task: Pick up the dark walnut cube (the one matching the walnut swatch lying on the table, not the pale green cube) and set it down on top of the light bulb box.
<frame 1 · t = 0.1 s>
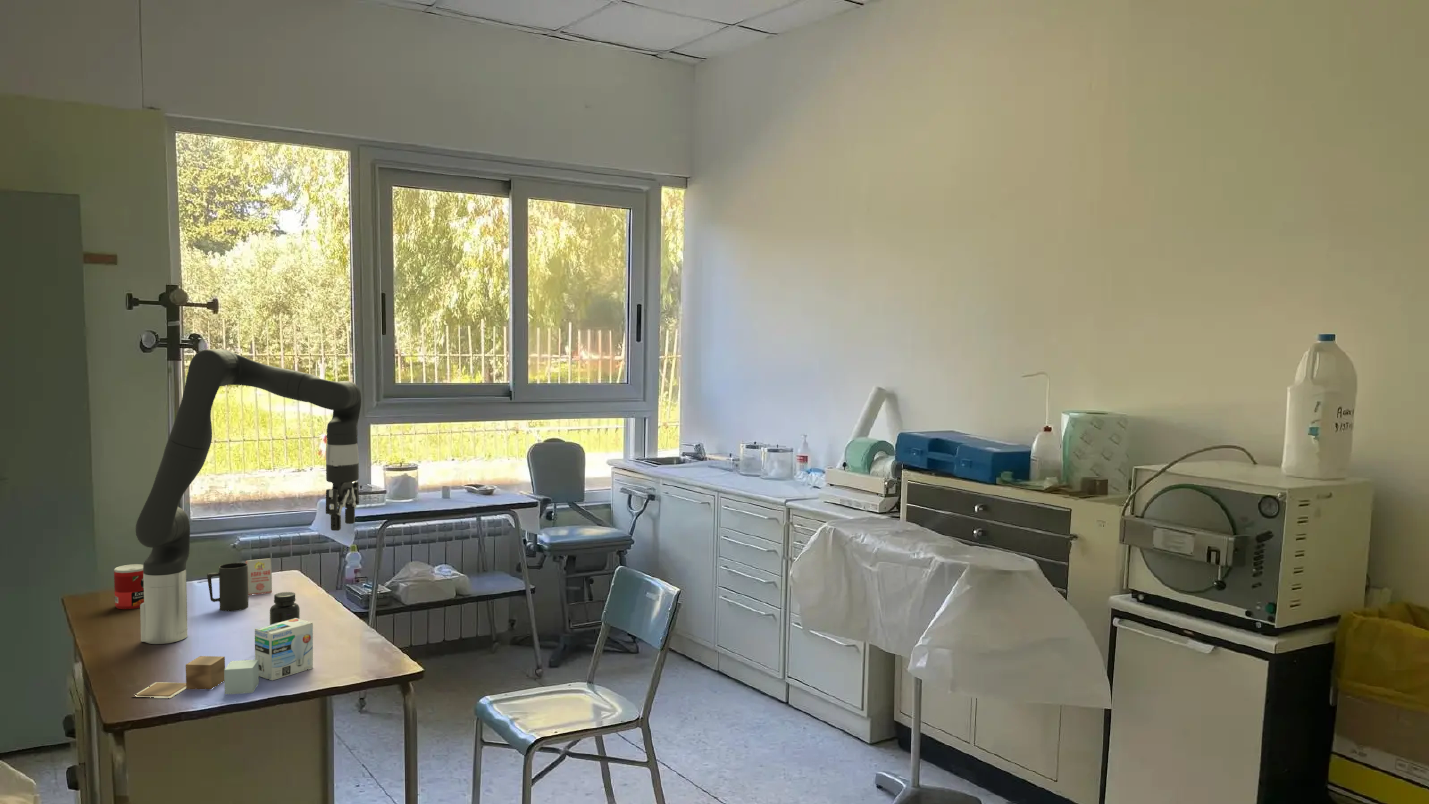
hand: (343, 526, 232), 29 cm above the table, tool pointing down, fingers open, 8 cm apart
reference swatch: (163, 690, 200), on the table
beige rectangular box: (258, 593, 278), on the table
canned food: (131, 606, 263), on the table
pale green cube: (242, 689, 202), on the table
mug: (228, 609, 262), on the table
light bulb box: (284, 672, 213), on the table
walnut block: (205, 685, 204), on the table
supplement bottle: (284, 642, 234), on the table
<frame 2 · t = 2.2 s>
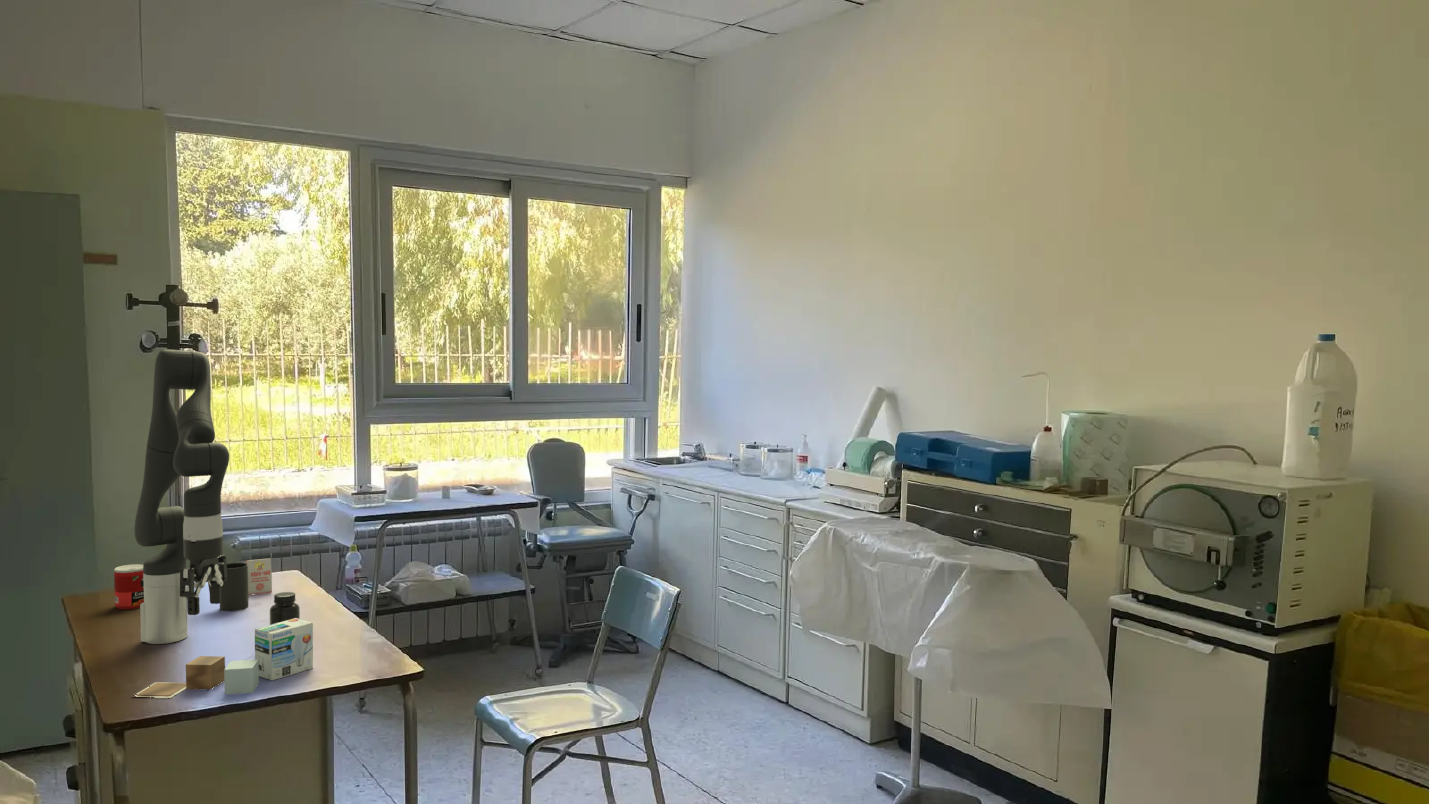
hand: (204, 608, 203), 17 cm above the table, tool pointing down, fingers open, 8 cm apart
nothing on the table moved.
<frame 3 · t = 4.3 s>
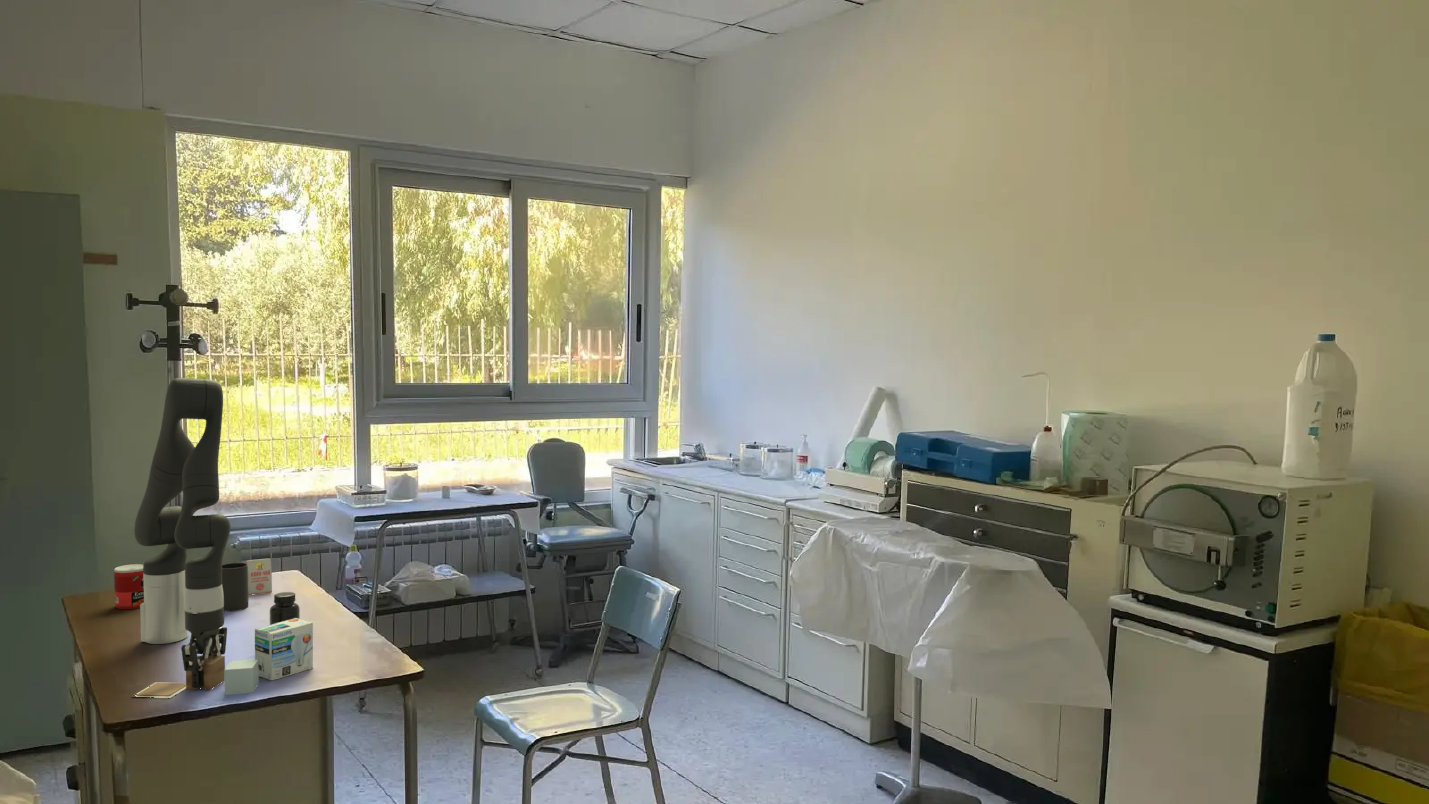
hand: (205, 682, 204), 1 cm above the table, tool pointing down, fingers closed on walnut block, 5 cm apart
walnut block: (205, 684, 204), on the table, touching gripper
everything else where it was.
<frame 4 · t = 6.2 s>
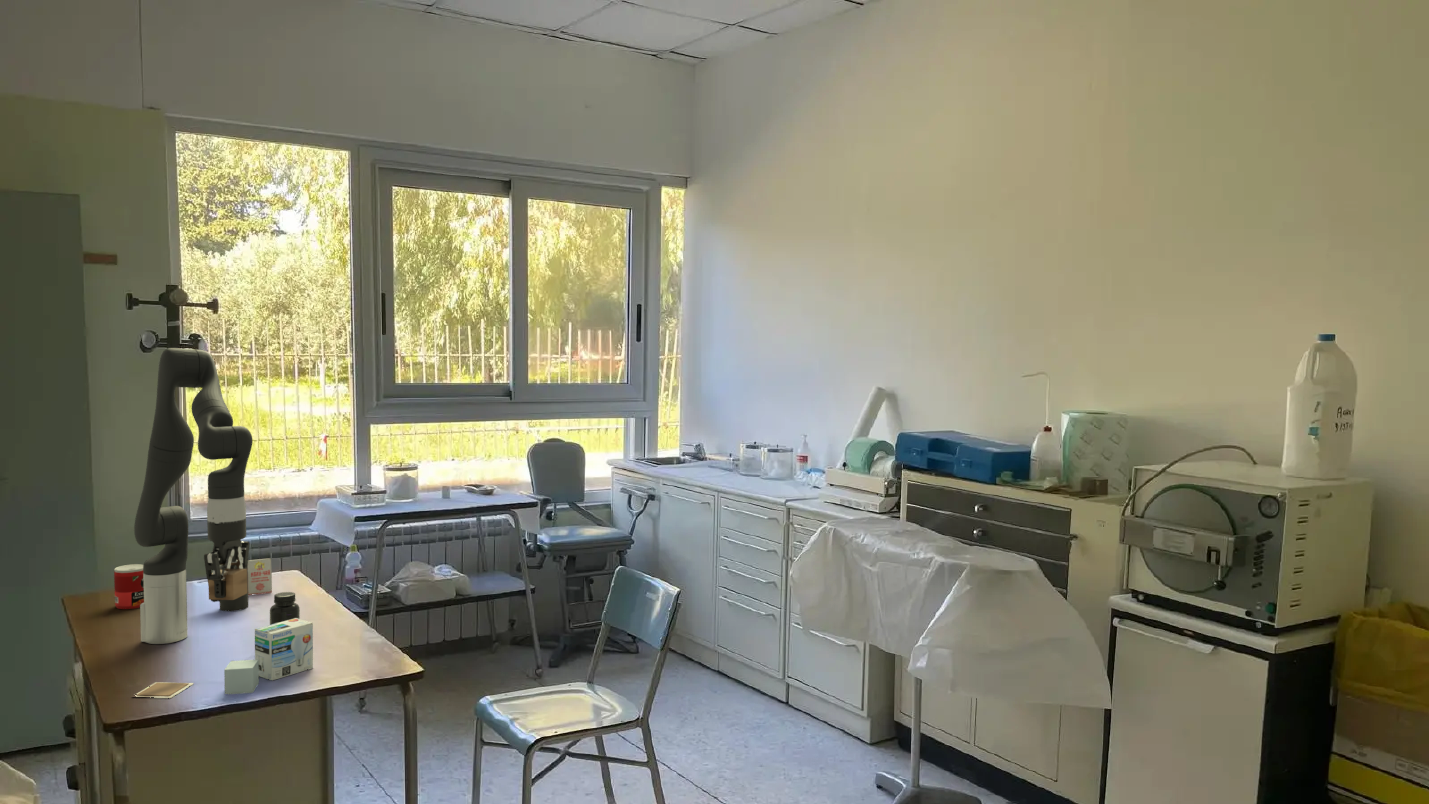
hand: (228, 593, 205), 20 cm above the table, tool pointing down, fingers closed on walnut block, 5 cm apart
walnut block: (228, 596, 205), point 19 cm above the table, touching gripper
everything else where it was.
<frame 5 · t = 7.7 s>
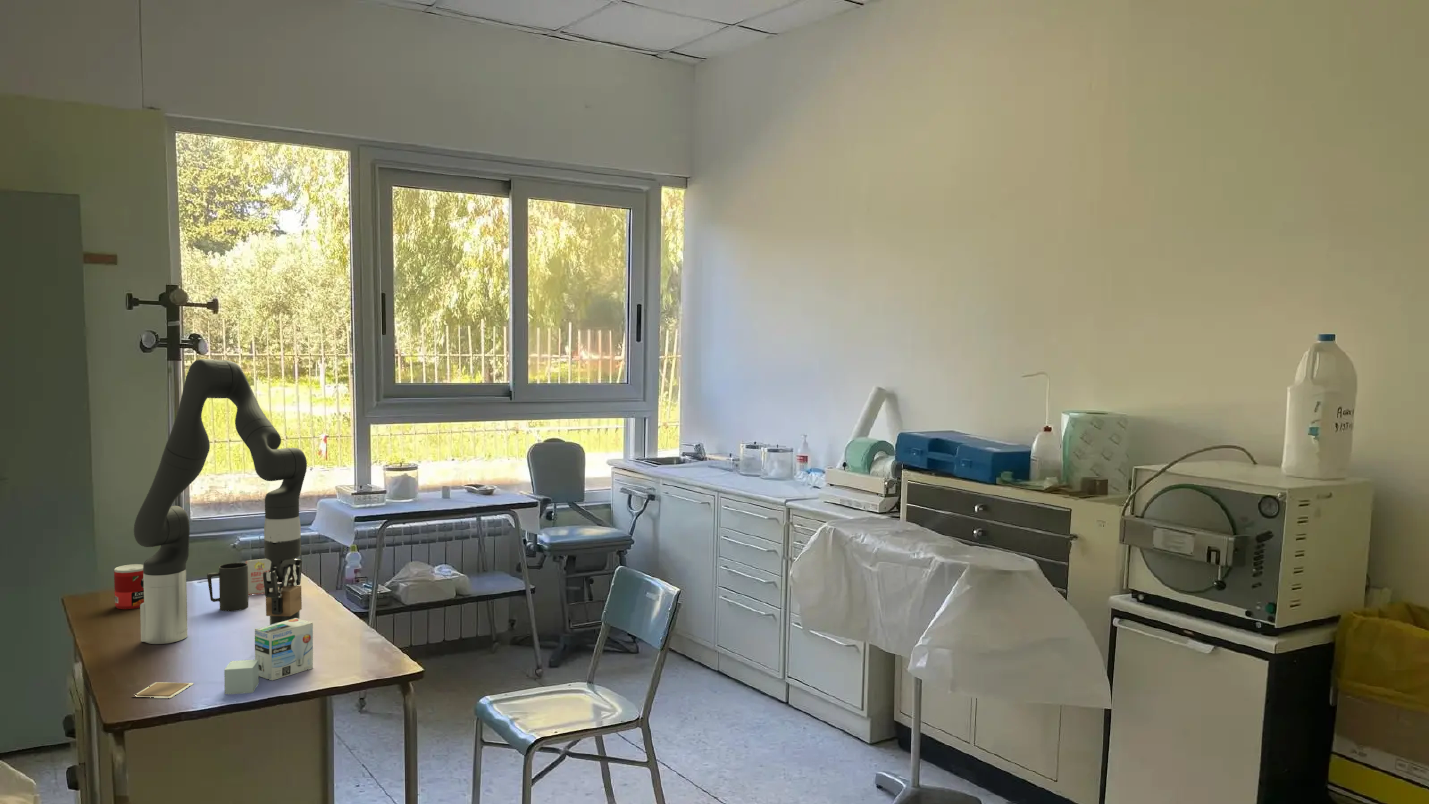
hand: (283, 610, 212), 14 cm above the table, tool pointing down, fingers closed on walnut block, 5 cm apart
walnut block: (284, 612, 212), point 14 cm above the table, touching gripper
everything else where it was.
when the fingers open (12 cm above the table, at t = 8.5 s): walnut block drops 1 cm, resting on light bulb box.
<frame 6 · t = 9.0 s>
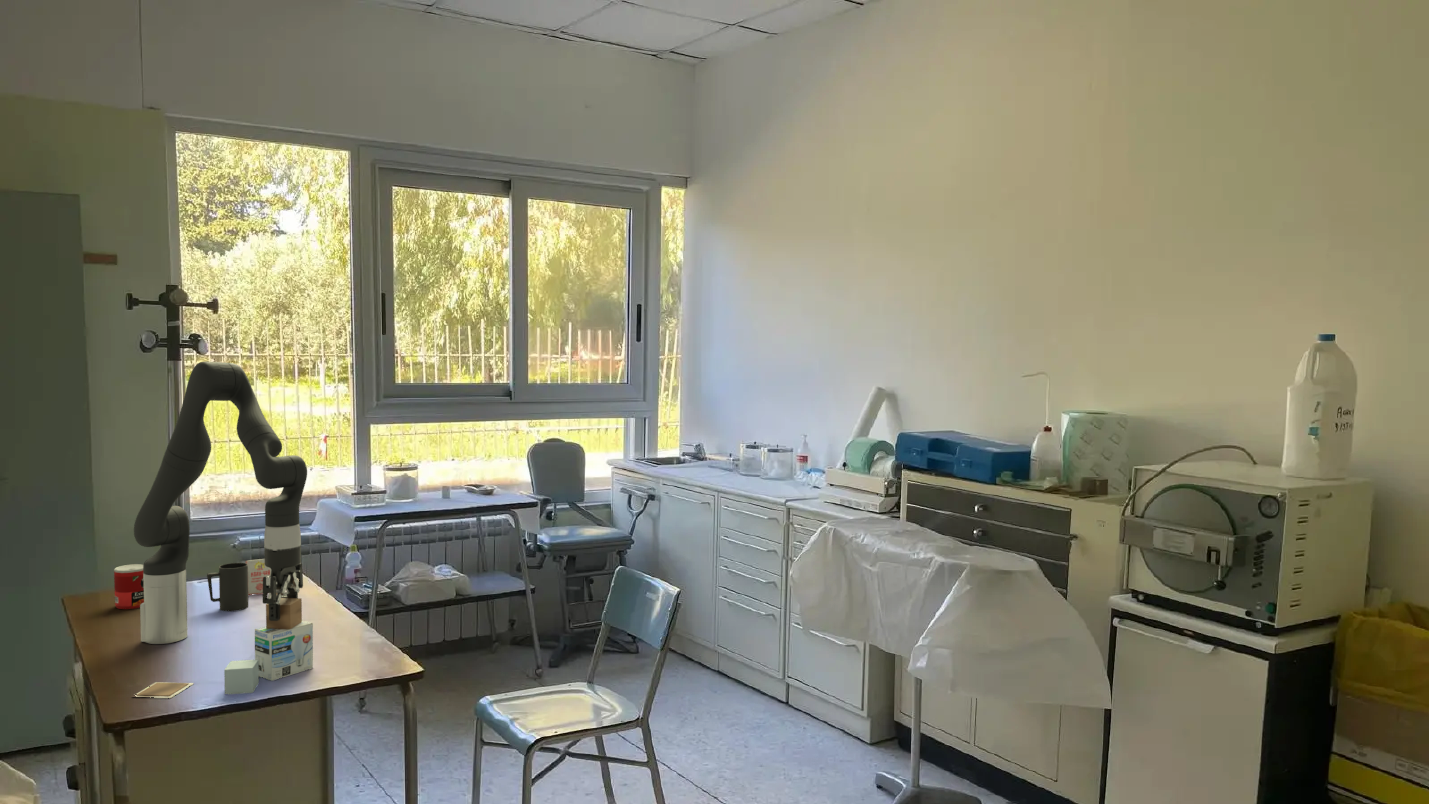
hand: (283, 614, 212), 13 cm above the table, tool pointing down, fingers open, 8 cm apart
light bulb box: (284, 672, 213), on the table, touching walnut block
walnut block: (284, 625, 212), point 11 cm above the table, touching light bulb box
everything else where it was.
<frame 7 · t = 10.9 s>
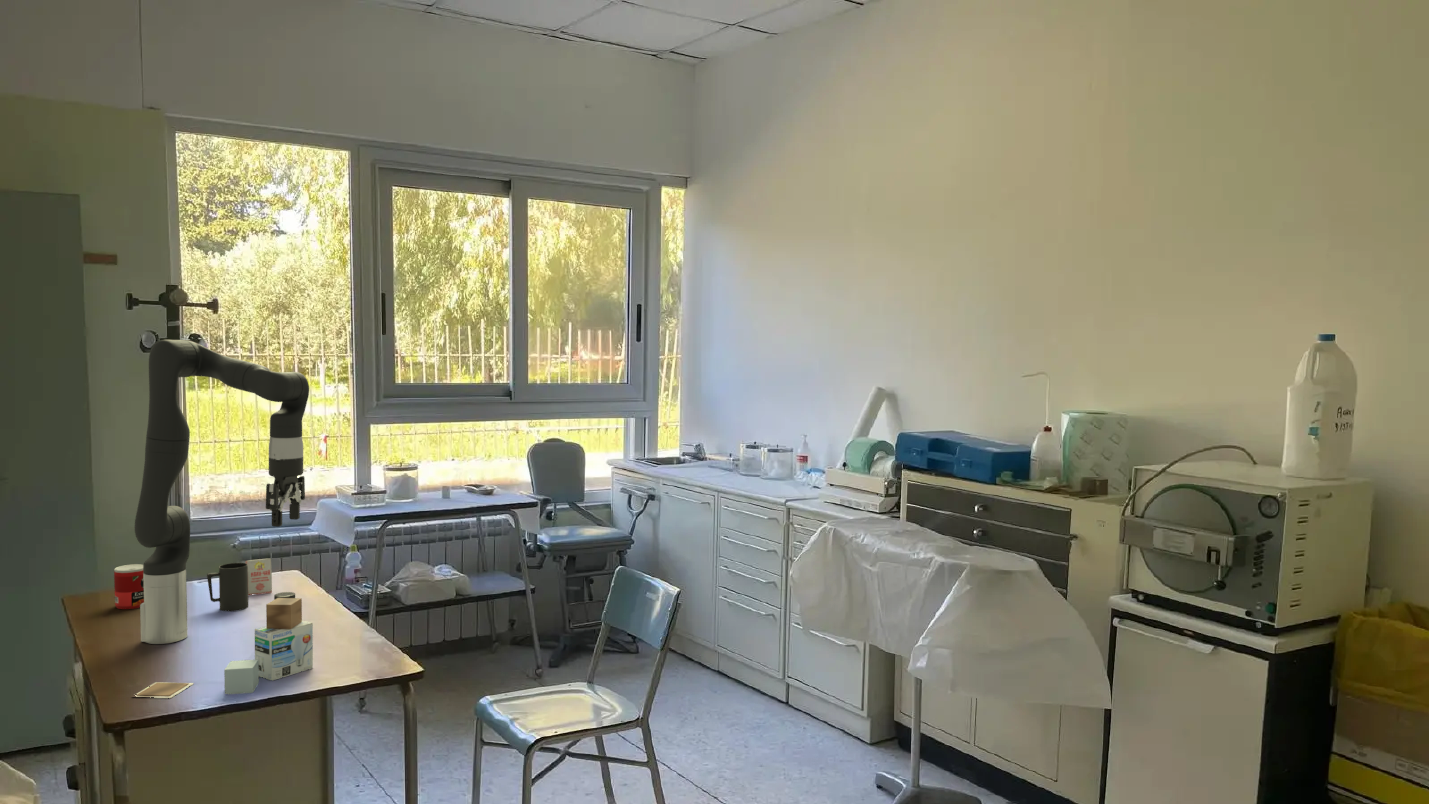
hand: (285, 522, 224), 32 cm above the table, tool pointing down, fingers open, 8 cm apart
nothing on the table moved.
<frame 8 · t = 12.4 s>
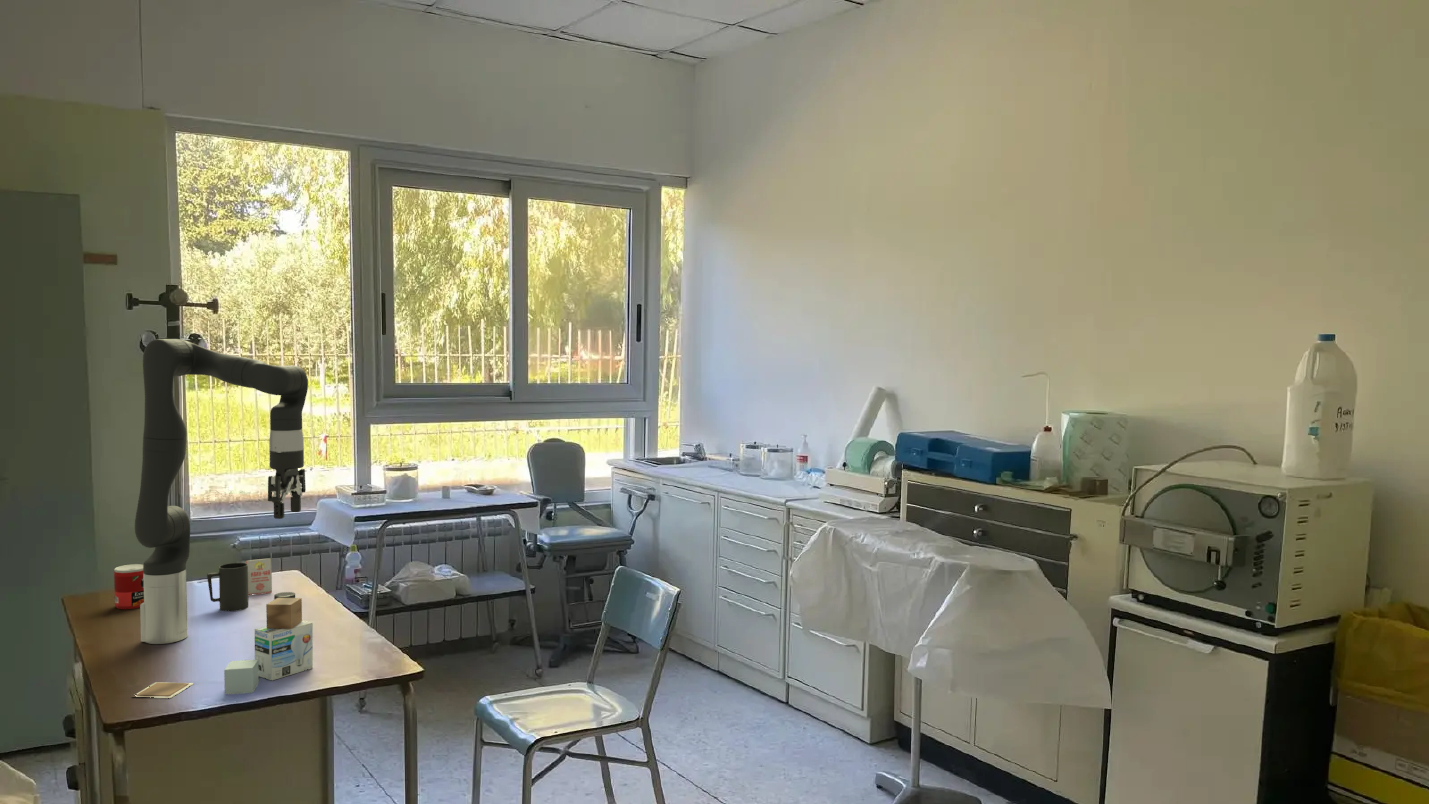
hand: (287, 515, 226), 33 cm above the table, tool pointing down, fingers open, 8 cm apart
nothing on the table moved.
at the end: walnut block inside the target area on the light bulb box (0.2 cm from its centre), point 11.0 cm above the light bulb box's base; the gripper is holding nothing; pale green cube moved 0.1 cm from its start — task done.
